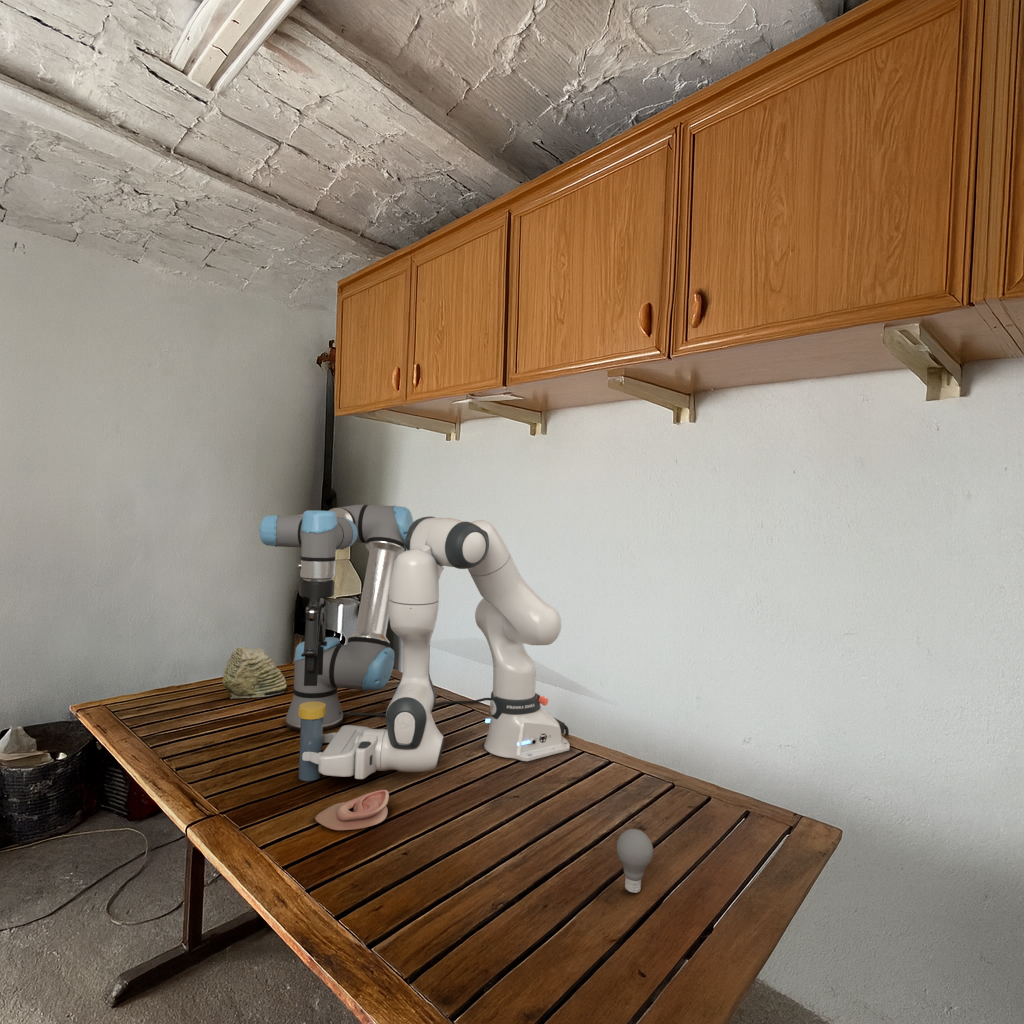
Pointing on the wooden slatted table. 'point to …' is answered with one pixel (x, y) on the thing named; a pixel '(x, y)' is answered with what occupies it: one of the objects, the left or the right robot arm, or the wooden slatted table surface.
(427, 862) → the wooden slatted table surface
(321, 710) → the lid
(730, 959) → the wooden slatted table surface
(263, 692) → the fossil
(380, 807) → the anatomical model
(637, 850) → the light bulb
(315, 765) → the blue-grey cylinder
